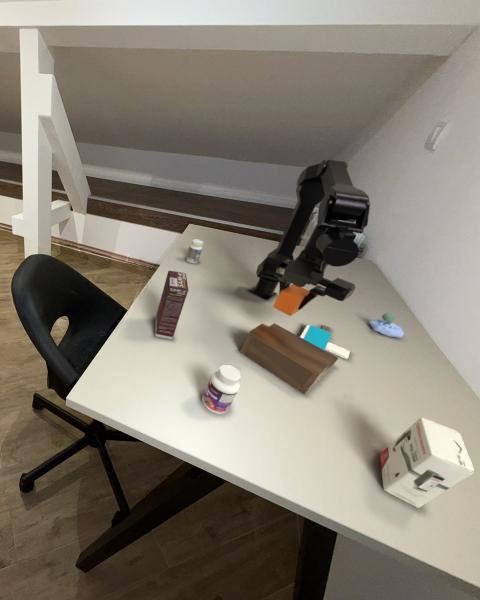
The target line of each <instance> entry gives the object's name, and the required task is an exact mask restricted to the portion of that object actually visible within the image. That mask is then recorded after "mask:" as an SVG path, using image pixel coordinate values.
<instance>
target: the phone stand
mask: <svg viewBox="0 0 480 600" xmlns="http://www.w3.org/2000/svg"><path fill="white" fill-rule="evenodd" d="M330 329H331V327H329V326H327V325H323V326H322V328H321V327H318V326H315V325H313V324H311V325H309V324H303V325H302V326H301V329H300V330H299V331H298V333H297V334H296V335H297V336H299V337H301V338H303V339H304V340H306V341H308V342H310V343H312V344H314V345H315V346H317V347H319V348H321V349H323V350H325V351H326V352H328V353H330V354H332V355H334V356H337V357H340V358H342V359H344V360H348V359H349V357H350V354H351V350H348V349H347V348H344V347H342V346H339V345H337V344H335V343H332V342H330V338H331V336H332V333H331V332H329V331H330Z"/></svg>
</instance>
